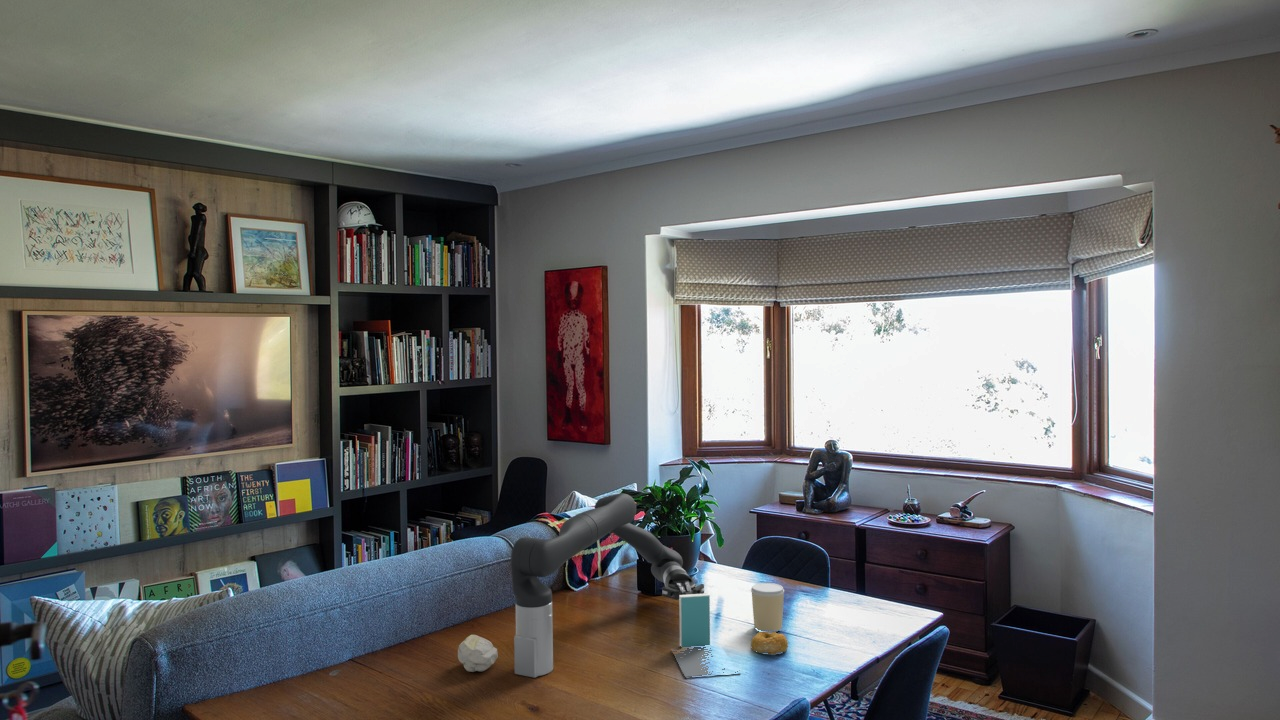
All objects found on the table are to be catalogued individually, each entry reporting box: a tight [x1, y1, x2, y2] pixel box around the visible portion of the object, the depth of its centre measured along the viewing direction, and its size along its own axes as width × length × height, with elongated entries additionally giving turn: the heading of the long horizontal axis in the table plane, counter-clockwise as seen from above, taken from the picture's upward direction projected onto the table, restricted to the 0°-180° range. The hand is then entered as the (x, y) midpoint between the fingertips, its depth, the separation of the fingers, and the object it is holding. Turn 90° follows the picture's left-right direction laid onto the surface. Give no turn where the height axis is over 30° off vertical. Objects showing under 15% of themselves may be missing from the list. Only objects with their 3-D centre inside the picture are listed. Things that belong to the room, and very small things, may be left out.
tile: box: [678, 592, 711, 647], centre depth 218 cm, size 2×8×14 cm, turn 99°
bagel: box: [750, 632, 789, 654], centre depth 216 cm, size 10×11×5 cm
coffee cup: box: [750, 582, 785, 632], centre depth 231 cm, size 9×9×12 cm
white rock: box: [457, 634, 499, 673], centre depth 205 cm, size 12×8×10 cm
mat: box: [671, 647, 738, 678], centre depth 207 cm, size 18×14×1 cm
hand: (689, 600), depth 224 cm, fingers closed
